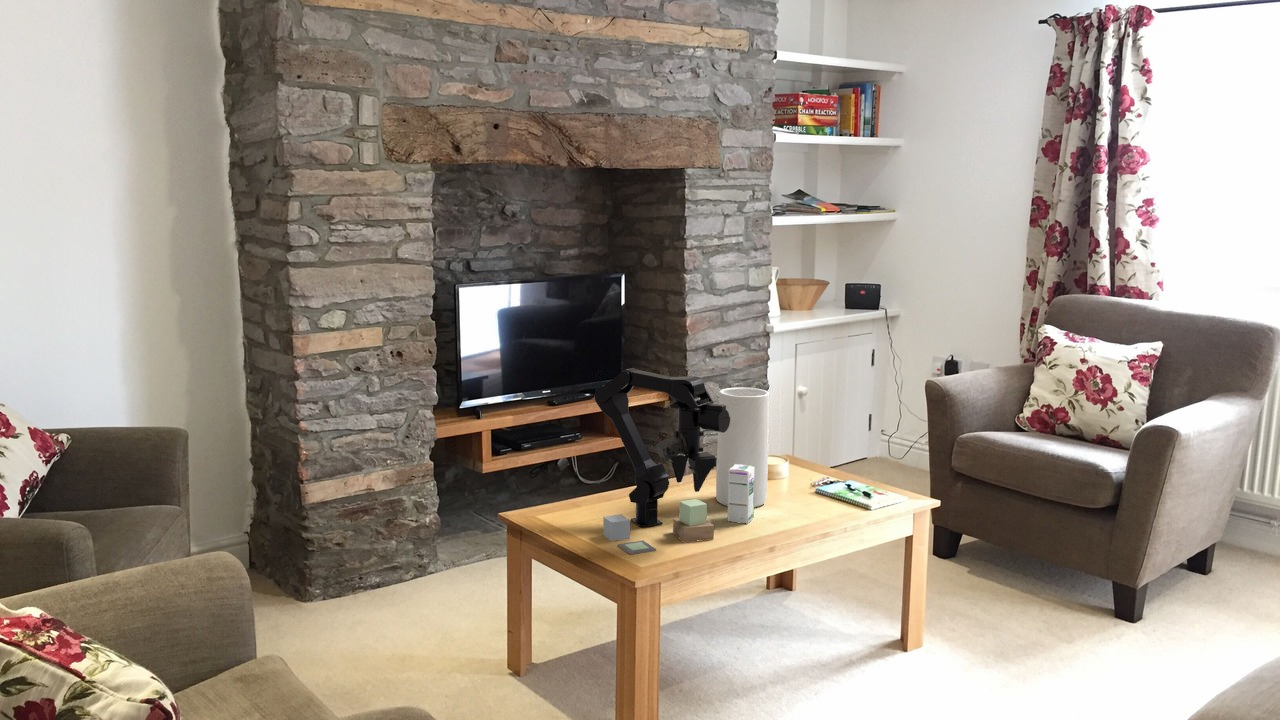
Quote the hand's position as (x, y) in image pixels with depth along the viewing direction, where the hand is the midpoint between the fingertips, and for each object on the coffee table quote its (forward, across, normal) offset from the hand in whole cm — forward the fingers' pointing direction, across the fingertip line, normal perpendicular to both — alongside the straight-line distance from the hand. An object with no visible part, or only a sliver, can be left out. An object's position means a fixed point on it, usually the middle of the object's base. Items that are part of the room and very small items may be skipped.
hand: (687, 486), depth 262 cm
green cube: (+8, +3, 0) cm, 9 cm away
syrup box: (+12, -3, +18) cm, 22 cm away
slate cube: (+12, -4, -18) cm, 22 cm away
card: (+12, +6, -17) cm, 22 cm away
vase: (+12, -17, +27) cm, 34 cm away
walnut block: (+12, +3, 0) cm, 13 cm away
